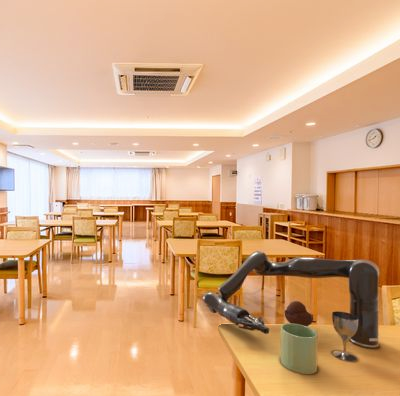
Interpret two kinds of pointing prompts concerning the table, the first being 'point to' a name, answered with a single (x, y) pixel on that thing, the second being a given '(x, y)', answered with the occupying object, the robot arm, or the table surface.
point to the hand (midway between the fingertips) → (267, 331)
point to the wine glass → (345, 332)
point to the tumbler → (298, 348)
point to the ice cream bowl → (298, 314)
